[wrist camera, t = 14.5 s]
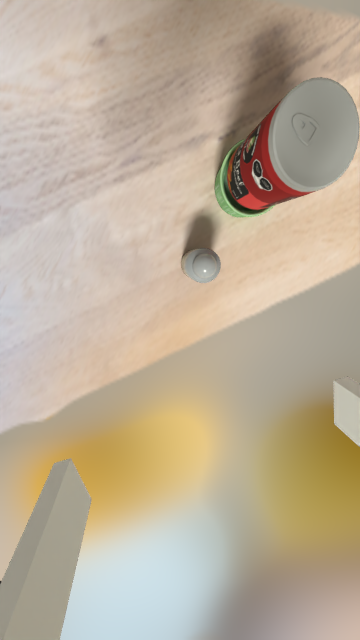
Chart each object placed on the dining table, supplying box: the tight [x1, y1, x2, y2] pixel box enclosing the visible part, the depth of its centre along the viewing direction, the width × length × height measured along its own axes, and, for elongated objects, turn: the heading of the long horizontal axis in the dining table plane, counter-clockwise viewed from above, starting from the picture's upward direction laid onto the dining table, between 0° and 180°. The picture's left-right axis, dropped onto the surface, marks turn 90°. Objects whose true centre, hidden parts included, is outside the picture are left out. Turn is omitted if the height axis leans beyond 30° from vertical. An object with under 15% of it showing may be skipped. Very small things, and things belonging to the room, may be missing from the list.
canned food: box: [227, 77, 359, 210], centre depth 23 cm, size 8×8×11 cm
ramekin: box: [215, 139, 275, 217], centre depth 31 cm, size 9×9×4 cm
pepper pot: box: [181, 248, 221, 283], centre depth 31 cm, size 4×4×8 cm
